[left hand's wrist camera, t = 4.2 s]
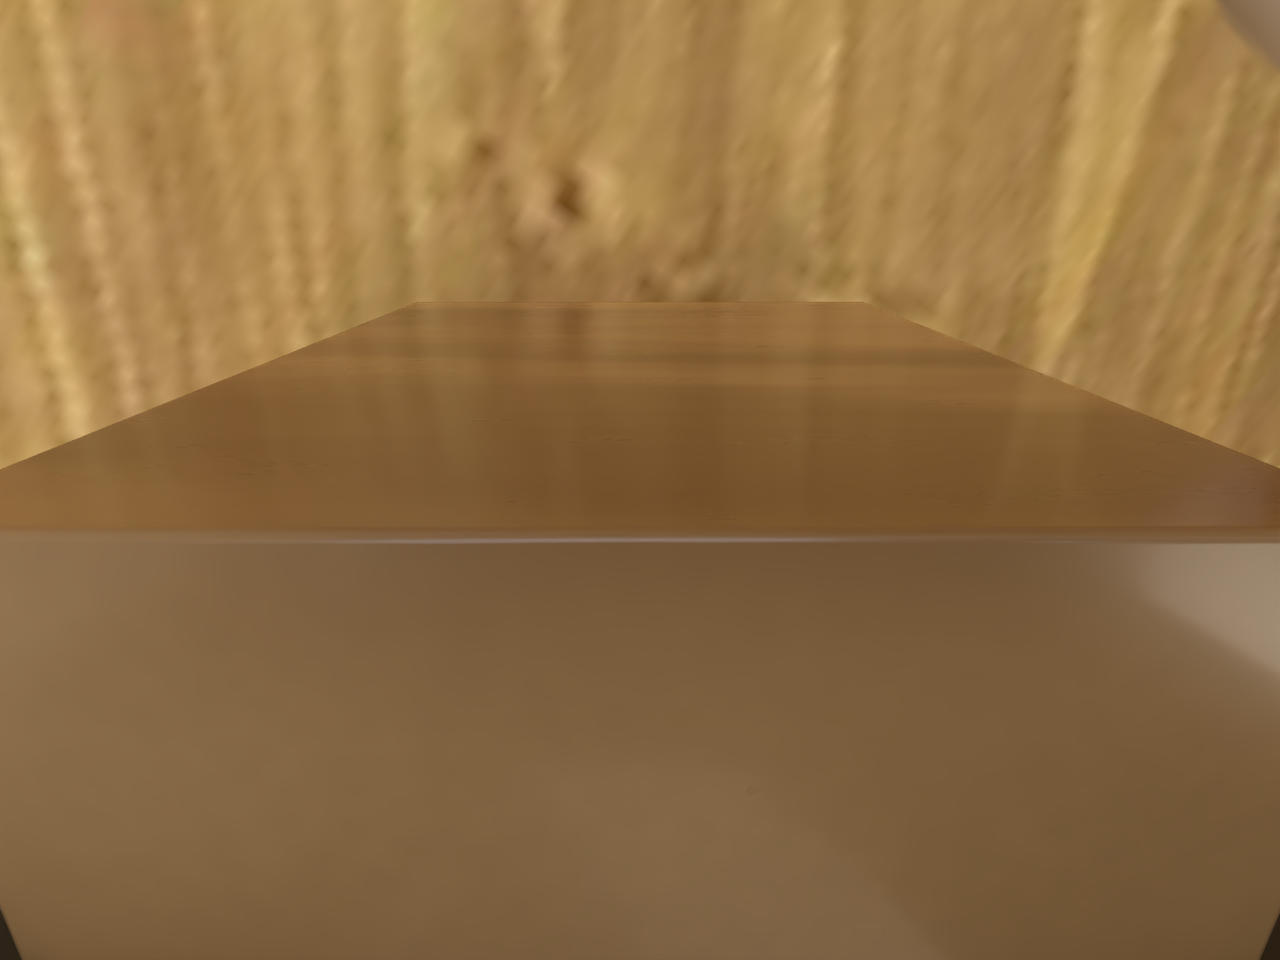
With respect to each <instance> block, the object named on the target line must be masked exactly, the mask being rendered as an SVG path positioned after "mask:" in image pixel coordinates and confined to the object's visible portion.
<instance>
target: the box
mask: <svg viewBox="0 0 1280 960" xmlns="http://www.w3.org/2000/svg"><path fill="white" fill-rule="evenodd" d="M0 910H1V912H2V915H3V917H4V919H5V922H6V924H7V926H8V929H9V931H10V933H11V936H12V938H13V941H14V943H15V945H16V948H17V950H18V952H19V955H20V957H21V959H22V960H1260V958H1261V956H1262V954H1263V951H1264V949H1265V947H1266V944H1267V942H1268V940H1269V937H1270V935H1271V933H1272V930H1273V928H1274V926H1275V923H1276V921H1277V919H1278V916H1279V914H1280V469H1279V468H1277V467H1274V466H1272V465H1269V464H1267V463H1264V462H1262V461H1259V460H1257V459H1254V458H1252V457H1249V456H1247V455H1244V454H1242V453H1239V452H1237V451H1234V450H1232V449H1229V448H1227V447H1224V446H1222V445H1219V444H1217V443H1214V442H1212V441H1209V440H1207V439H1204V438H1202V437H1199V436H1197V435H1194V434H1192V433H1189V432H1187V431H1184V430H1182V429H1179V428H1177V427H1174V426H1172V425H1169V424H1167V423H1164V422H1162V421H1159V420H1157V419H1154V418H1152V417H1149V416H1147V415H1144V414H1142V413H1139V412H1137V411H1134V410H1132V409H1129V408H1127V407H1124V406H1122V405H1119V404H1117V403H1114V402H1112V401H1109V400H1107V399H1104V398H1102V397H1099V396H1097V395H1094V394H1092V393H1089V392H1087V391H1084V390H1082V389H1079V388H1077V387H1074V386H1072V385H1069V384H1067V383H1064V382H1062V381H1059V380H1057V379H1054V378H1052V377H1049V376H1047V375H1044V374H1042V373H1039V372H1037V371H1034V370H1032V369H1029V368H1027V367H1024V366H1022V365H1019V364H1017V363H1014V362H1012V361H1009V360H1007V359H1004V358H1002V357H999V356H997V355H994V354H992V353H989V352H986V351H984V350H981V349H979V348H976V347H974V346H971V345H969V344H966V343H964V342H961V341H959V340H956V339H954V338H951V337H949V336H946V335H944V334H941V333H939V332H936V331H934V330H931V329H929V328H926V327H924V326H921V325H919V324H916V323H914V322H911V321H909V320H906V319H904V318H901V317H899V316H896V315H894V314H891V313H889V312H886V311H884V310H881V309H879V308H876V307H874V306H871V305H869V304H866V303H864V302H417V303H414V304H412V305H409V306H407V307H404V308H402V309H399V310H397V311H394V312H392V313H389V314H387V315H384V316H382V317H379V318H377V319H374V320H372V321H369V322H367V323H364V324H362V325H359V326H357V327H354V328H352V329H349V330H347V331H344V332H342V333H339V334H337V335H334V336H332V337H329V338H327V339H324V340H322V341H319V342H317V343H314V344H312V345H309V346H307V347H304V348H302V349H300V350H297V351H295V352H292V353H290V354H287V355H285V356H282V357H280V358H277V359H275V360H272V361H270V362H267V363H265V364H262V365H260V366H257V367H255V368H252V369H250V370H247V371H245V372H242V373H240V374H237V375H235V376H232V377H230V378H227V379H225V380H222V381H220V382H217V383H215V384H212V385H210V386H207V387H205V388H202V389H200V390H197V391H195V392H192V393H190V394H187V395H185V396H182V397H180V398H177V399H175V400H172V401H170V402H167V403H165V404H162V405H160V406H157V407H155V408H152V409H150V410H148V411H145V412H143V413H140V414H138V415H135V416H133V417H130V418H128V419H125V420H123V421H120V422H118V423H115V424H113V425H110V426H108V427H105V428H103V429H100V430H98V431H95V432H93V433H90V434H88V435H85V436H83V437H80V438H78V439H75V440H73V441H70V442H68V443H65V444H63V445H60V446H58V447H55V448H53V449H50V450H48V451H45V452H43V453H40V454H38V455H35V456H33V457H30V458H28V459H25V460H23V461H20V462H18V463H15V464H13V465H10V466H8V467H5V468H3V469H0Z"/></svg>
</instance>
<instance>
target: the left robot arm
mask: <svg viewBox="0 0 1280 960" xmlns="http://www.w3.org/2000/svg"><path fill="white" fill-rule="evenodd" d="M0 960H22V959H21V957H20V955H19V952H18V950H17V948H16V945H15V943H14V941H13V938H12V936H11V933H10V931H9V929H8V926H7V924H6V922H5V919H4V917H3V915H2V912H1V910H0ZM1260 960H1280V914H1279V916H1278V919H1277V921H1276V923H1275V926H1274V928H1273V930H1272V933H1271V935H1270V937H1269V940H1268V942H1267V944H1266V947H1265V949H1264V951H1263V954H1262V956H1261V958H1260Z"/></svg>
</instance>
